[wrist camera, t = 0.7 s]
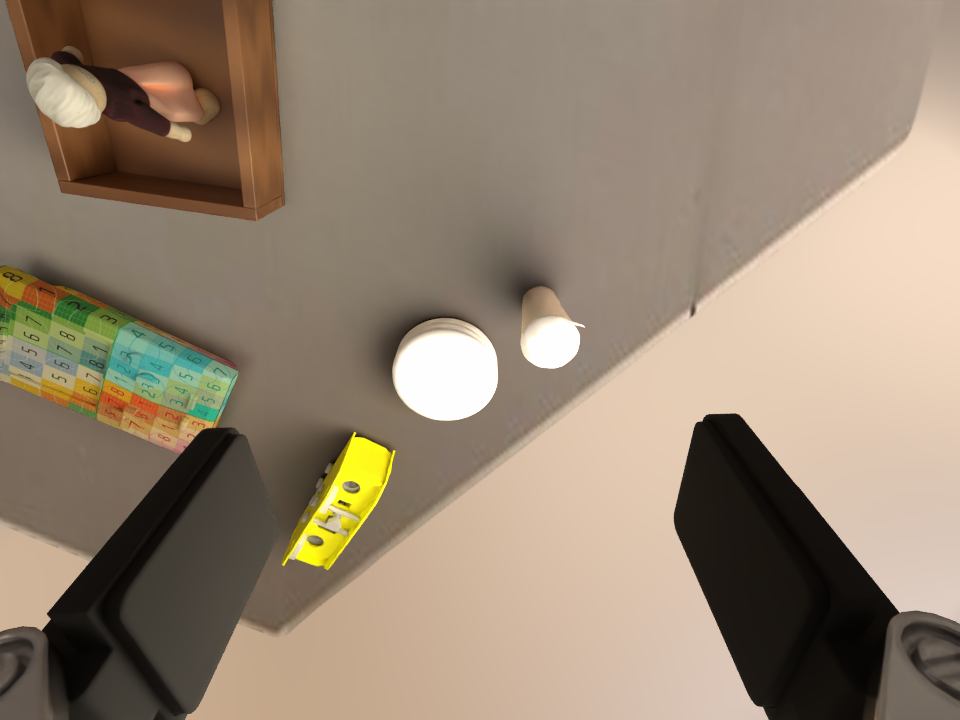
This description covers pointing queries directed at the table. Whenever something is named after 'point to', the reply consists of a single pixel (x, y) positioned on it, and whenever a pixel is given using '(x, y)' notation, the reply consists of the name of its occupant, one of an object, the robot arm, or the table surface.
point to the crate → (162, 160)
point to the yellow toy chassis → (341, 503)
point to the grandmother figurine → (119, 94)
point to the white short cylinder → (445, 369)
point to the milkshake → (547, 330)
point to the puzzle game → (108, 363)
